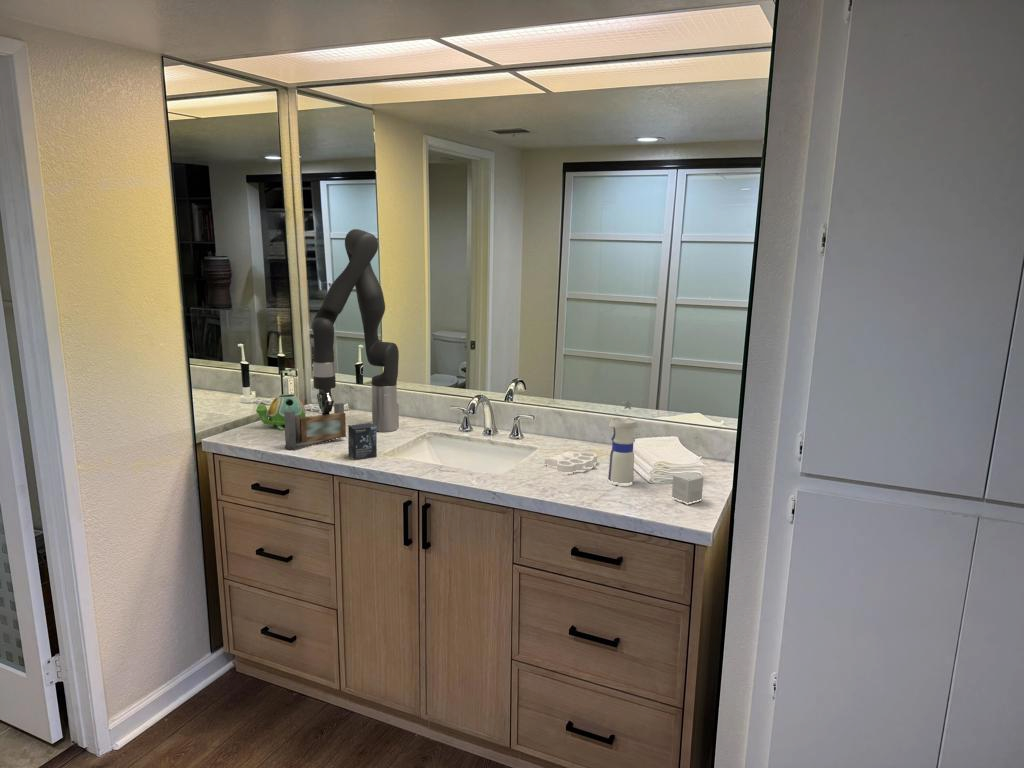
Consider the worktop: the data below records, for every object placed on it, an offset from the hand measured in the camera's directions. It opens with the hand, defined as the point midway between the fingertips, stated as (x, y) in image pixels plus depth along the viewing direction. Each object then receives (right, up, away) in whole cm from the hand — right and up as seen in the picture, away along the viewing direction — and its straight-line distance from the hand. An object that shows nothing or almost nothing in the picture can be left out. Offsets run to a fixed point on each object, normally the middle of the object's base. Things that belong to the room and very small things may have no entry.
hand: (326, 422), depth 248 cm
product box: (+115, -20, -50) cm, 127 cm away
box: (+17, -11, -17) cm, 26 cm away
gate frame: (-3, -7, -2) cm, 8 cm away
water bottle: (+98, -16, -36) cm, 106 cm away
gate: (-1, -6, -4) cm, 7 cm away
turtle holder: (-21, -3, +18) cm, 28 cm away
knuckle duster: (+85, -14, -22) cm, 89 cm away
